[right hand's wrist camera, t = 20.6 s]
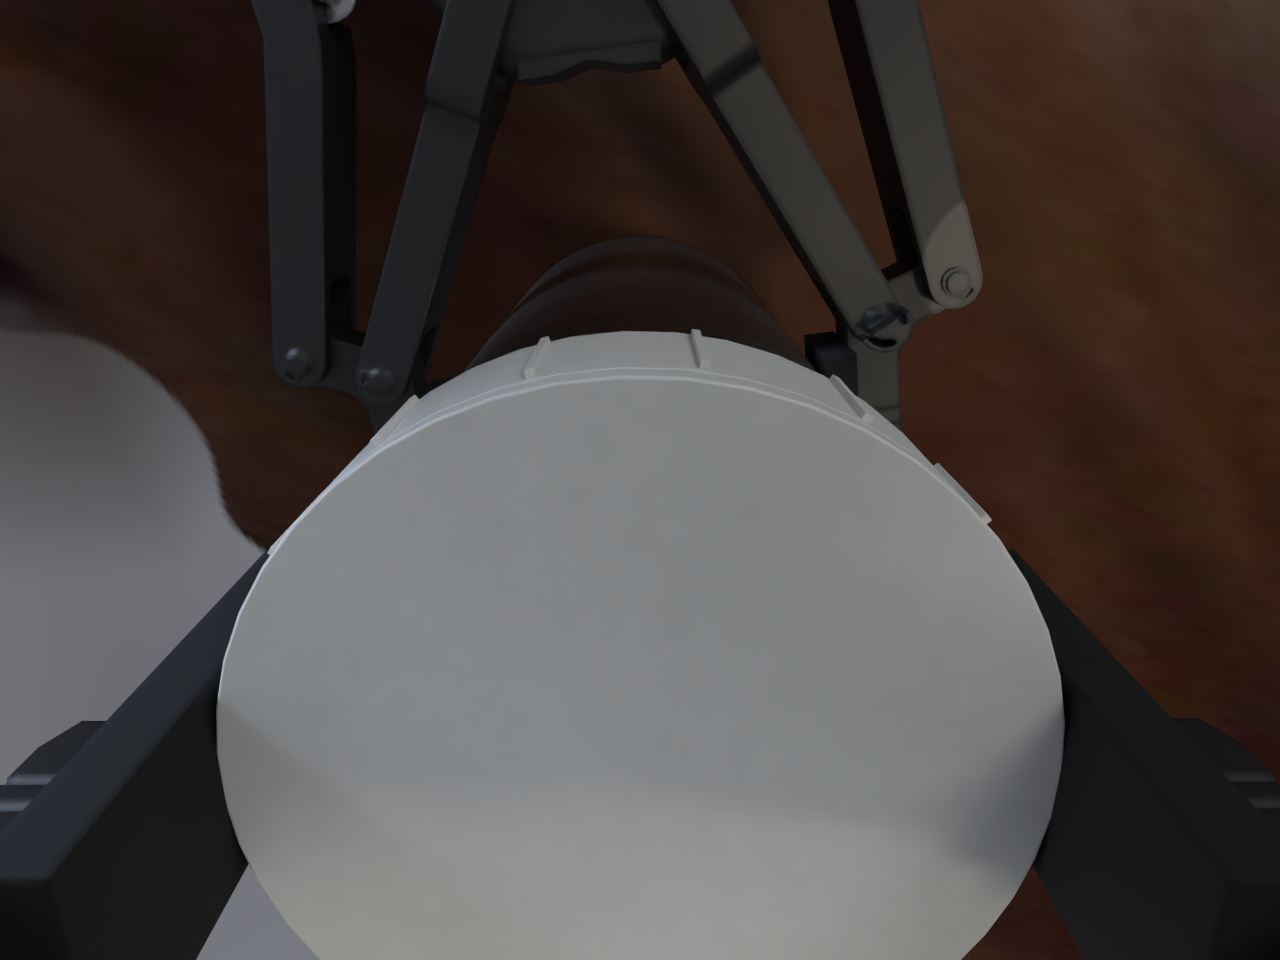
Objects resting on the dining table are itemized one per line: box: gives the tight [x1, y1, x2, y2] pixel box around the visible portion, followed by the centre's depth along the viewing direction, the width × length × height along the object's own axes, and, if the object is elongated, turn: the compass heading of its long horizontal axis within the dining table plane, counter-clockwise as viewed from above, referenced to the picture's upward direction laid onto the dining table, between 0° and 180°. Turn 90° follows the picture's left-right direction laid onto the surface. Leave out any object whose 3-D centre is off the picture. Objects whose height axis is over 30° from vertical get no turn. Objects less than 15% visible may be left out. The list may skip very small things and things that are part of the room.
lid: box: [216, 329, 1065, 960], centre depth 12 cm, size 10×10×2 cm
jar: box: [463, 237, 818, 373], centre depth 20 cm, size 9×9×19 cm
